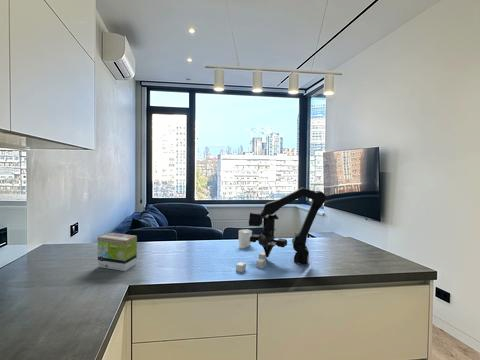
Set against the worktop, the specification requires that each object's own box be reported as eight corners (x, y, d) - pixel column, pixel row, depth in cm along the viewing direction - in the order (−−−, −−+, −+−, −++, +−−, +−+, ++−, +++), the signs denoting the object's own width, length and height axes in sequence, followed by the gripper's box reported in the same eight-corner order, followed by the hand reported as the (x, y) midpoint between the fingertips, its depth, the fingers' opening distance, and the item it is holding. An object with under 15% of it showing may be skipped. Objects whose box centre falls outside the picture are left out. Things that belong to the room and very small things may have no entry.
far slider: (266, 258, 166) (267, 252, 165) (264, 260, 162) (264, 255, 162) (261, 257, 167) (261, 252, 167) (258, 259, 163) (258, 254, 163)
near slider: (245, 269, 149) (245, 263, 149) (241, 272, 146) (242, 265, 145) (239, 268, 150) (240, 262, 150) (235, 270, 147) (236, 264, 147)
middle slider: (265, 265, 155) (265, 259, 155) (262, 267, 152) (262, 261, 152) (259, 264, 157) (260, 258, 156) (256, 266, 153) (256, 260, 153)
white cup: (253, 248, 187) (254, 232, 186) (241, 249, 184) (241, 233, 183) (248, 245, 194) (248, 229, 194) (236, 246, 192) (236, 229, 191)
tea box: (96, 267, 149) (96, 237, 148) (110, 261, 159) (110, 232, 157) (125, 271, 145) (125, 240, 144) (137, 264, 155) (137, 234, 154)
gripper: (245, 227, 159) (244, 258, 160) (280, 233, 151) (279, 265, 152) (254, 223, 169) (253, 252, 170) (288, 228, 161) (286, 258, 162)
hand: (267, 257), depth 163 cm, fingers closed
